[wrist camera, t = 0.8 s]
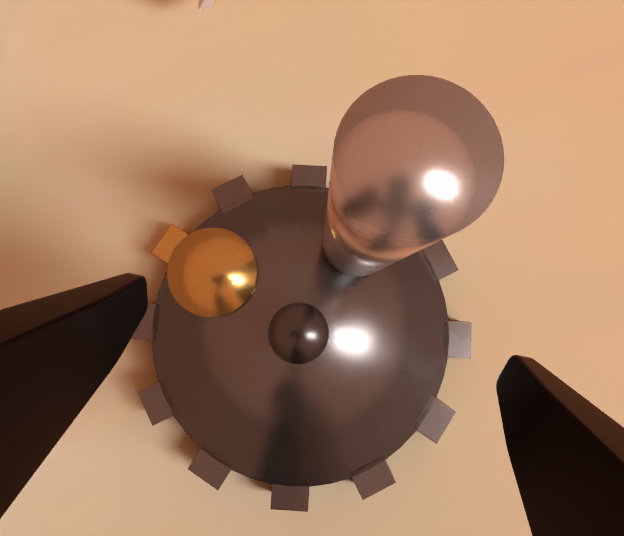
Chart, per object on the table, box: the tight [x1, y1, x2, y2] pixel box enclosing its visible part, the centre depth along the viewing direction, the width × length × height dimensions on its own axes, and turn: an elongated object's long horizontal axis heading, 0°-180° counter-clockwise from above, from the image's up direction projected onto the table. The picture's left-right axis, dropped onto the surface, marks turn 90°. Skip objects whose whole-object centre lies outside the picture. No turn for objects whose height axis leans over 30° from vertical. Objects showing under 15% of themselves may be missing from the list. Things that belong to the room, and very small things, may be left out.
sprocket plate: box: [131, 165, 471, 512], centre depth 18 cm, size 17×17×3 cm
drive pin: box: [323, 75, 504, 277], centre depth 13 cm, size 4×4×11 cm
